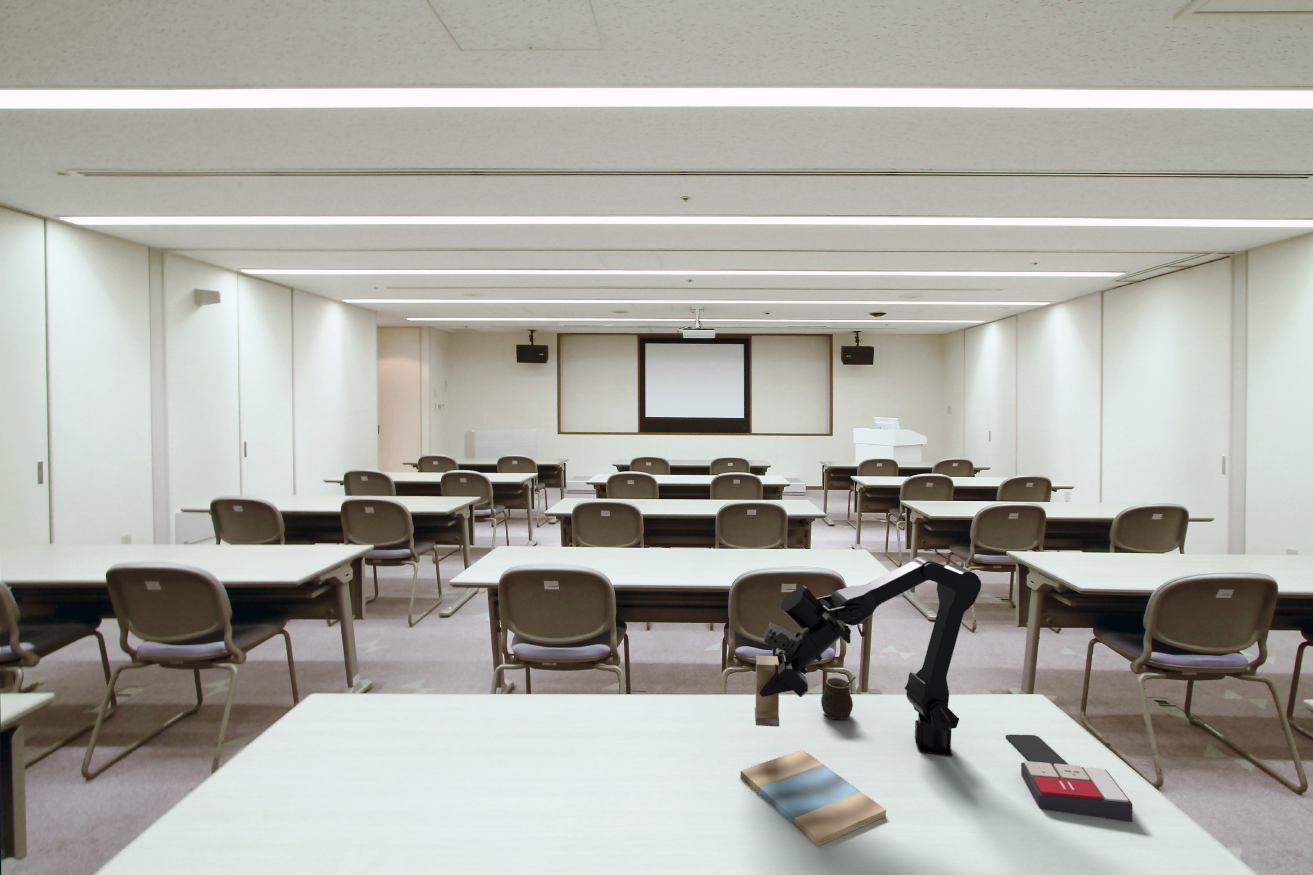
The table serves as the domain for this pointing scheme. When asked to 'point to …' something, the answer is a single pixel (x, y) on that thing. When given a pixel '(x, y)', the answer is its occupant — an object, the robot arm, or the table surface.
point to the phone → (1035, 749)
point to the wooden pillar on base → (769, 704)
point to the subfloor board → (812, 796)
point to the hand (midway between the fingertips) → (760, 689)
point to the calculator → (1076, 790)
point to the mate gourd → (837, 698)
